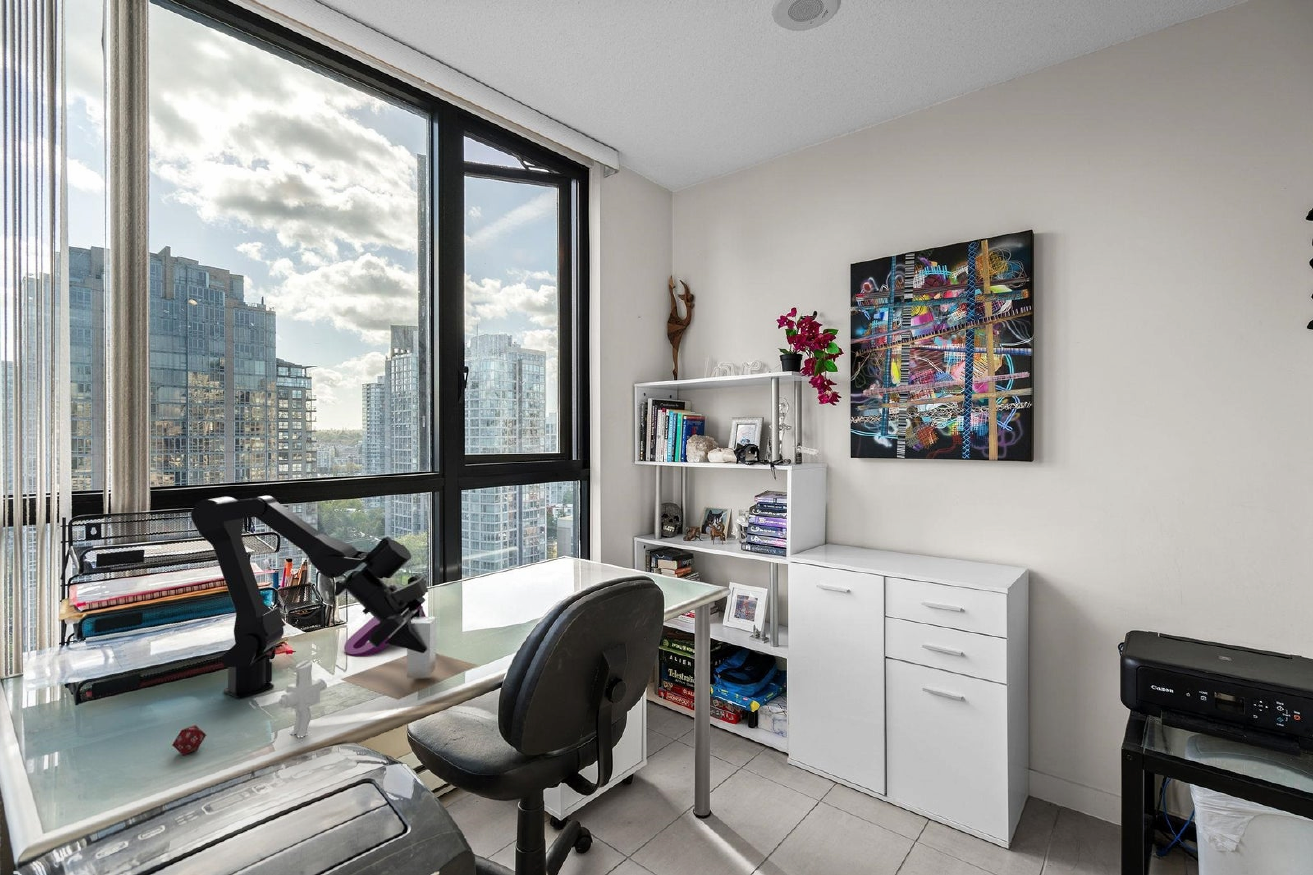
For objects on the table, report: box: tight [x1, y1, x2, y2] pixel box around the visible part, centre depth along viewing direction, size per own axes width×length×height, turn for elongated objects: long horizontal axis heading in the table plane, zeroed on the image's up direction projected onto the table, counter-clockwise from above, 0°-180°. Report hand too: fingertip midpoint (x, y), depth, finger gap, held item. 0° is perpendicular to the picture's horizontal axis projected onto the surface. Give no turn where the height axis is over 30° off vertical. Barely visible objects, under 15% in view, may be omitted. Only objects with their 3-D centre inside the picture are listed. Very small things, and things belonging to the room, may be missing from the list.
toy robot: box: [278, 660, 328, 737], centre depth 103 cm, size 4×8×12 cm, turn 155°
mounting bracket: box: [343, 604, 427, 657], centre depth 144 cm, size 9×8×18 cm
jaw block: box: [406, 616, 437, 678], centre depth 122 cm, size 4×4×11 cm
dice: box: [171, 725, 207, 756], centre depth 96 cm, size 4×4×4 cm
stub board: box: [341, 652, 478, 700], centre depth 126 cm, size 20×18×4 cm
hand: (428, 647), depth 123 cm, fingers closed on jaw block, 4 cm apart
